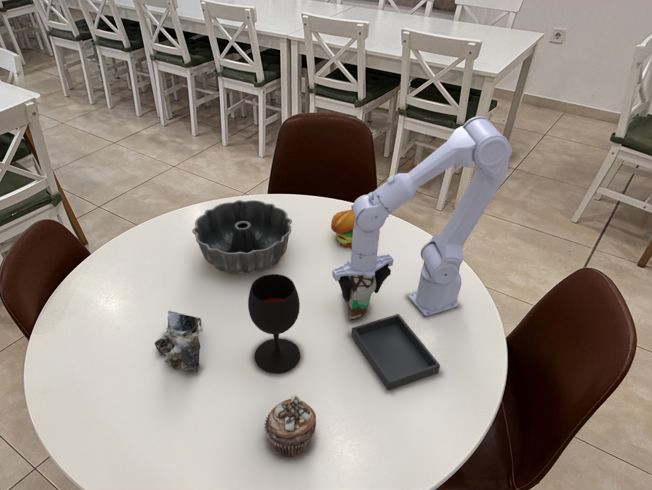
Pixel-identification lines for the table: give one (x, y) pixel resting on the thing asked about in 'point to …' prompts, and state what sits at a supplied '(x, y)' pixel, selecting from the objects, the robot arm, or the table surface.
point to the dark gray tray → (394, 351)
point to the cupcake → (290, 426)
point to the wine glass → (274, 321)
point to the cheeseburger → (343, 227)
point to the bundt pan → (243, 235)
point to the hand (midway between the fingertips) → (360, 294)
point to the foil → (181, 341)
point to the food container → (360, 296)
